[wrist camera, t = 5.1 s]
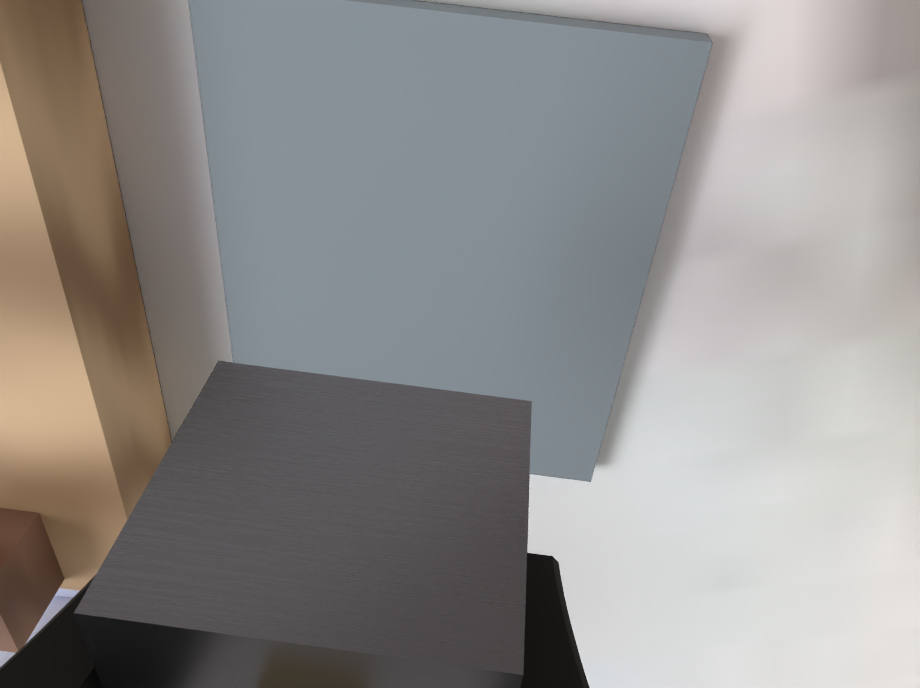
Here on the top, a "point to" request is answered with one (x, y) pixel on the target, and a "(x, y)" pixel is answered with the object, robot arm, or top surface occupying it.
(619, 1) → the top surface
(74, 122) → the hand plane
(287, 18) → the slate mat
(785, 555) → the top surface
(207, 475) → the lever cap
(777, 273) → the top surface
